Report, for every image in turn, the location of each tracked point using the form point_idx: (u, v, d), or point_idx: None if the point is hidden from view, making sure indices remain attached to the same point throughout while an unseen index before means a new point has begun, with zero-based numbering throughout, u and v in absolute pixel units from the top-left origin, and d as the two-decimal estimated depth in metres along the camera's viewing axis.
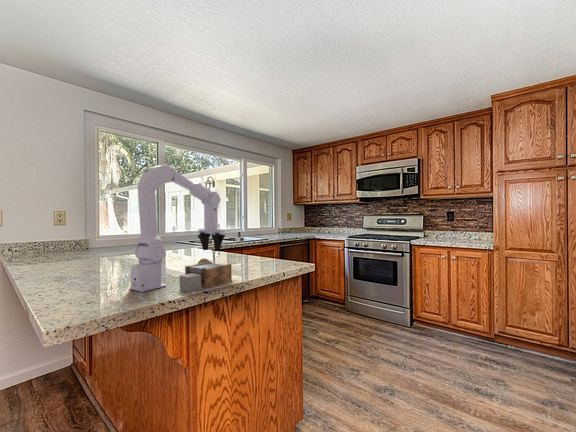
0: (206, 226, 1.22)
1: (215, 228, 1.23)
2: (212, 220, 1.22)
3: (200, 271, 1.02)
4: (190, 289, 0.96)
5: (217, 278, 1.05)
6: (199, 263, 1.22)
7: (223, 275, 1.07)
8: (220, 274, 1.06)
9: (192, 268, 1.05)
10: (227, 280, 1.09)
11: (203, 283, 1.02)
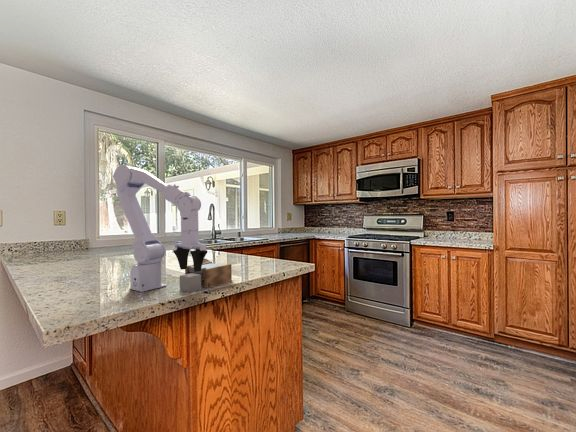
0: (183, 240, 0.96)
1: (195, 242, 0.97)
2: (191, 232, 0.96)
3: (200, 271, 1.02)
4: (190, 289, 0.96)
5: (217, 278, 1.05)
6: None
7: (223, 275, 1.07)
8: (220, 274, 1.06)
9: (192, 268, 1.05)
10: (227, 280, 1.09)
11: (203, 283, 1.02)
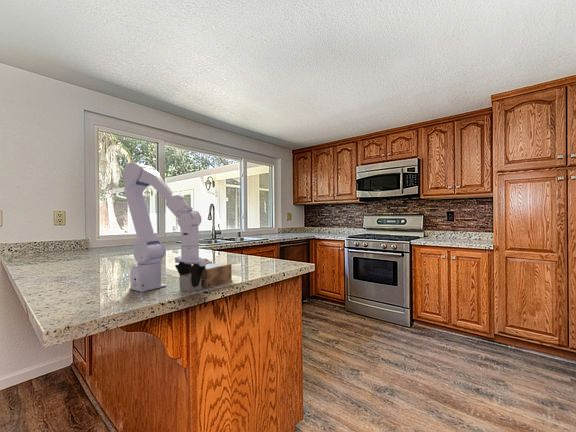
0: (183, 255, 0.96)
1: (195, 257, 0.97)
2: (191, 247, 0.96)
3: None
4: (190, 289, 0.96)
5: (217, 278, 1.05)
6: None
7: (223, 275, 1.07)
8: (220, 274, 1.06)
9: None
10: (227, 280, 1.09)
11: (203, 283, 1.02)
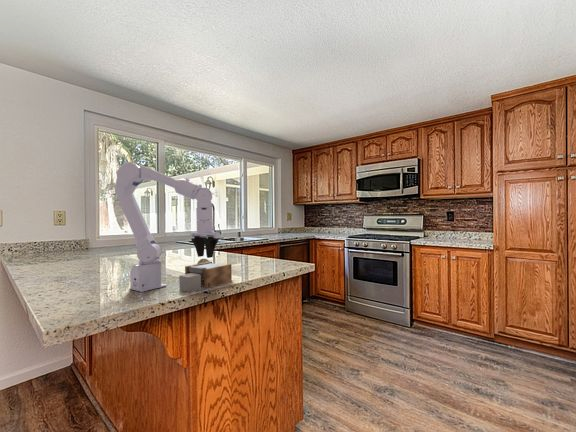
0: (199, 228, 1.03)
1: (209, 231, 1.04)
2: (206, 221, 1.03)
3: (200, 271, 1.02)
4: (190, 289, 0.96)
5: (217, 278, 1.05)
6: (199, 263, 1.22)
7: (223, 275, 1.07)
8: (220, 274, 1.06)
9: (192, 268, 1.05)
10: (227, 280, 1.09)
11: (203, 283, 1.02)
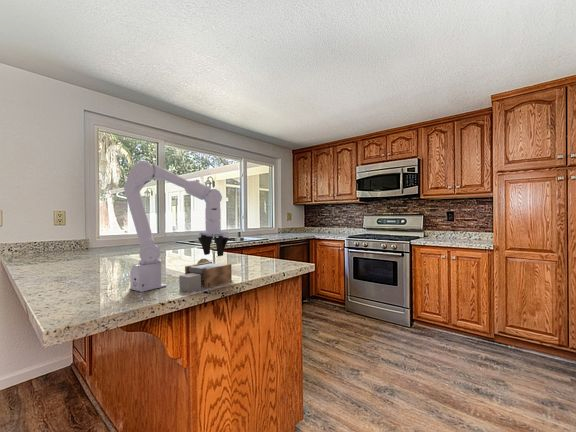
0: (208, 228, 1.08)
1: (218, 230, 1.09)
2: (214, 221, 1.08)
3: (200, 271, 1.02)
4: (190, 289, 0.96)
5: (217, 278, 1.05)
6: (199, 263, 1.22)
7: (223, 275, 1.07)
8: (220, 274, 1.06)
9: (192, 268, 1.05)
10: (227, 280, 1.09)
11: (203, 283, 1.02)
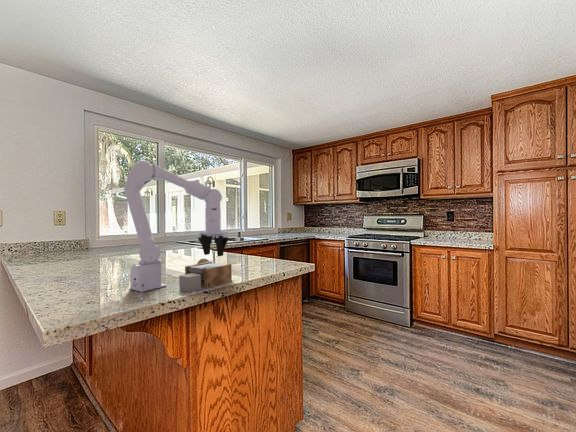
0: (208, 228, 1.08)
1: (218, 230, 1.09)
2: (214, 221, 1.08)
3: (200, 271, 1.02)
4: (190, 289, 0.96)
5: (217, 278, 1.05)
6: (198, 263, 1.22)
7: (223, 275, 1.07)
8: (220, 274, 1.06)
9: (192, 268, 1.05)
10: (227, 280, 1.09)
11: (203, 283, 1.02)
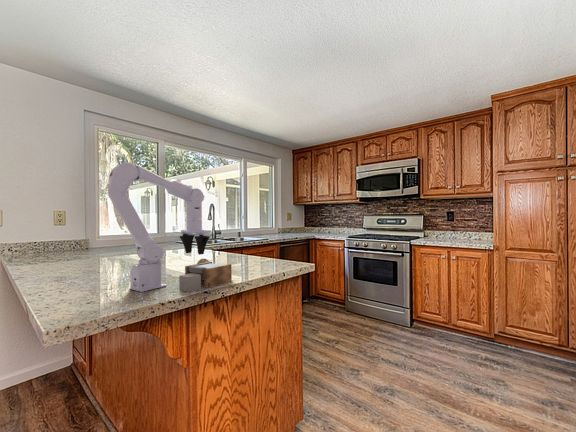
0: (188, 227, 1.10)
1: (199, 229, 1.11)
2: (195, 220, 1.10)
3: (200, 271, 1.02)
4: (190, 289, 0.96)
5: (217, 278, 1.05)
6: (198, 263, 1.22)
7: (223, 275, 1.07)
8: (220, 274, 1.06)
9: (192, 268, 1.05)
10: (227, 280, 1.09)
11: (203, 283, 1.02)
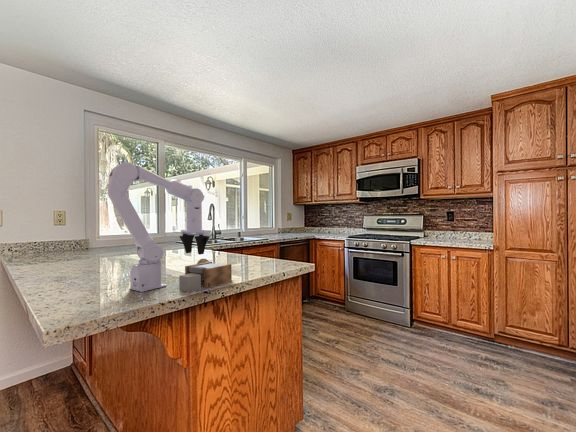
0: (188, 227, 1.10)
1: (199, 229, 1.11)
2: (195, 220, 1.10)
3: (200, 271, 1.02)
4: (190, 289, 0.96)
5: (217, 278, 1.05)
6: (198, 263, 1.22)
7: (223, 275, 1.07)
8: (220, 274, 1.06)
9: (192, 268, 1.05)
10: (227, 280, 1.09)
11: (203, 283, 1.02)
